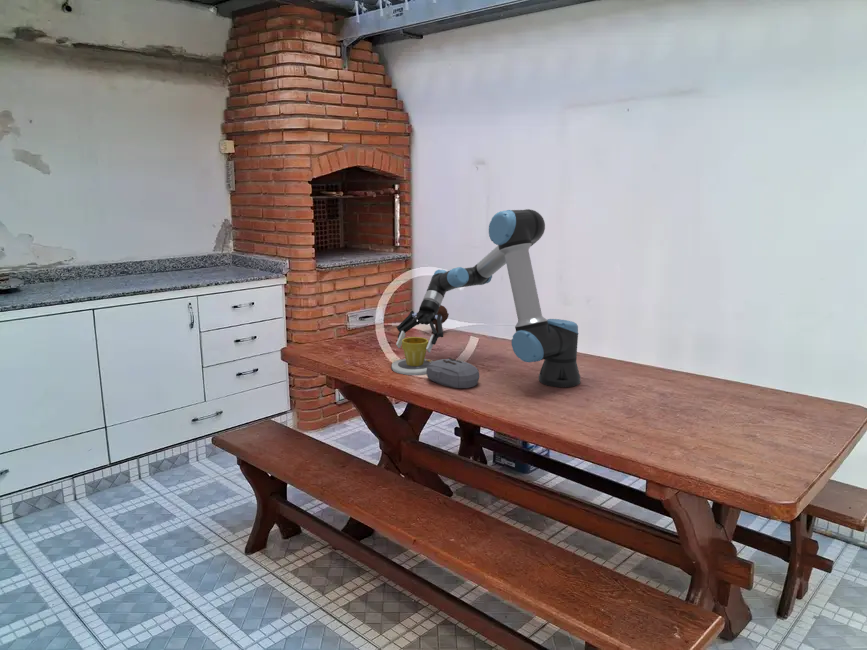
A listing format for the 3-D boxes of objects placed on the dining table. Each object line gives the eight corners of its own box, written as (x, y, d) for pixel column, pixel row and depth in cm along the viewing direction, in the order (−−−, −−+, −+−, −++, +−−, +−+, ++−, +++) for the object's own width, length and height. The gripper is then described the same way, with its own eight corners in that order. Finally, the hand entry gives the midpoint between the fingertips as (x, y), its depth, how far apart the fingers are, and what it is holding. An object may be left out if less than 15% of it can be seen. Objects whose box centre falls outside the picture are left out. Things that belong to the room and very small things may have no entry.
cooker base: (446, 368, 258) (446, 364, 257) (411, 378, 246) (411, 373, 246) (417, 359, 271) (417, 354, 270) (382, 367, 259) (382, 363, 259)
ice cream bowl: (423, 334, 311) (423, 303, 307) (430, 329, 321) (430, 299, 318) (444, 336, 308) (444, 305, 304) (450, 331, 318) (451, 300, 315)
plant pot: (427, 368, 253) (427, 343, 250) (401, 367, 253) (400, 343, 251) (428, 360, 263) (428, 336, 261) (403, 360, 263) (402, 336, 261)
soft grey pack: (421, 381, 243) (461, 393, 230) (421, 359, 241) (461, 370, 228) (448, 372, 254) (488, 383, 240) (448, 351, 252) (489, 362, 238)
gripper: (461, 312, 262) (444, 357, 253) (407, 306, 274) (389, 349, 264) (455, 301, 256) (437, 347, 247) (401, 296, 268) (382, 339, 258)
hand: (412, 348), depth 256 cm, fingers open, 13 cm apart
